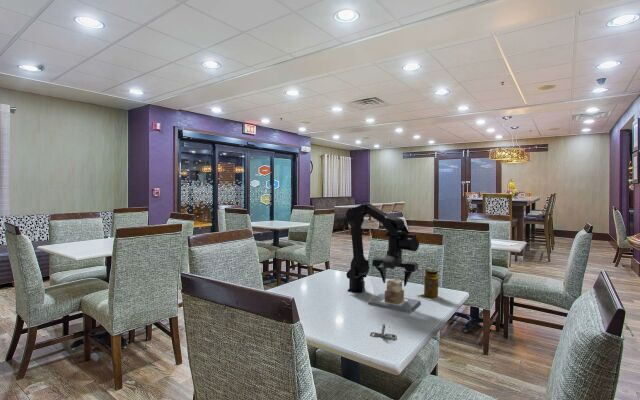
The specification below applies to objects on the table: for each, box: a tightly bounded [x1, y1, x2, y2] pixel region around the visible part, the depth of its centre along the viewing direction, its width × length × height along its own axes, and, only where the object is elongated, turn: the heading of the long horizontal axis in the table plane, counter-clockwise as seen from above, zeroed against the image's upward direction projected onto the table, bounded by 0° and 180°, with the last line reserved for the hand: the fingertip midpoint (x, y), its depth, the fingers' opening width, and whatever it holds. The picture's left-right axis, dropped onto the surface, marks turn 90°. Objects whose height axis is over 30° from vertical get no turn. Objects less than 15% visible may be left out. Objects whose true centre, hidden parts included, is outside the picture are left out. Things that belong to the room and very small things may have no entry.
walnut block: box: [384, 288, 405, 304], centre depth 149 cm, size 6×7×4 cm
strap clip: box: [369, 323, 397, 341], centre depth 116 cm, size 8×3×4 cm, turn 69°
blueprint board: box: [367, 293, 421, 313], centre depth 149 cm, size 18×14×1 cm
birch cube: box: [386, 278, 403, 293], centre depth 149 cm, size 5×5×4 cm
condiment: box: [416, 269, 442, 301], centre depth 159 cm, size 7×8×12 cm
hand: (394, 284), depth 149 cm, fingers open, 9 cm apart
